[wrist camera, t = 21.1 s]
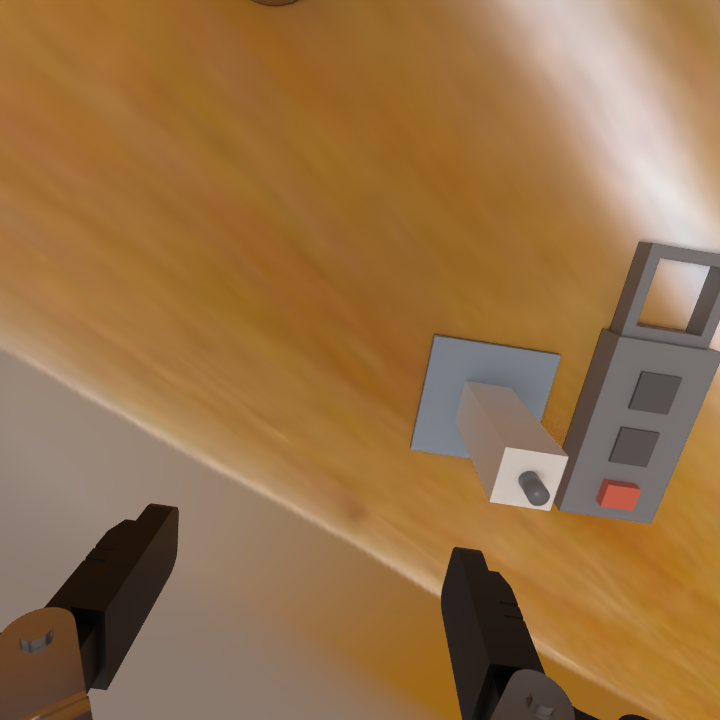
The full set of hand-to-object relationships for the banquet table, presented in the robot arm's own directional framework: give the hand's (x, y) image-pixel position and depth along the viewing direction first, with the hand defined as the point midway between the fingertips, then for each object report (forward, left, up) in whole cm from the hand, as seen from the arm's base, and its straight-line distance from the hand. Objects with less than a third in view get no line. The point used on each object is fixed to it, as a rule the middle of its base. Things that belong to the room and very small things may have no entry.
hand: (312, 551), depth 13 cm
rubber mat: (+6, +14, -30) cm, 34 cm away
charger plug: (+6, +14, -30) cm, 33 cm away
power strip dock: (+2, +28, -30) cm, 41 cm away
